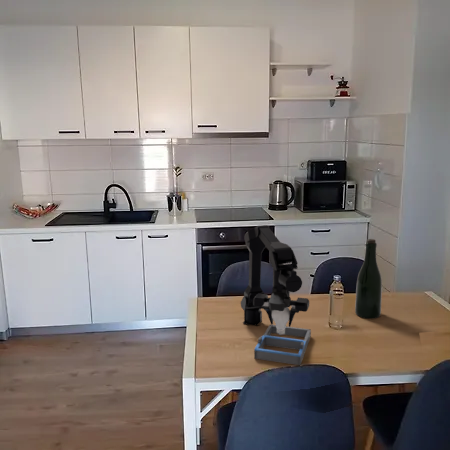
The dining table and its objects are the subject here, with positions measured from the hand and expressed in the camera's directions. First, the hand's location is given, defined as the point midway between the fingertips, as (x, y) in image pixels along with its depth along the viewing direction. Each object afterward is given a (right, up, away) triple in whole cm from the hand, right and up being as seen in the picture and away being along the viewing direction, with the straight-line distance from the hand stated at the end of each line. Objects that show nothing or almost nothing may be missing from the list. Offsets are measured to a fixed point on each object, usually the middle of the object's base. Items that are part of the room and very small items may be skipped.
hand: (280, 325), depth 159 cm
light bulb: (0, -4, +1) cm, 4 cm away
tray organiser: (+2, -10, +7) cm, 12 cm away
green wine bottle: (+42, -3, +36) cm, 55 cm away
